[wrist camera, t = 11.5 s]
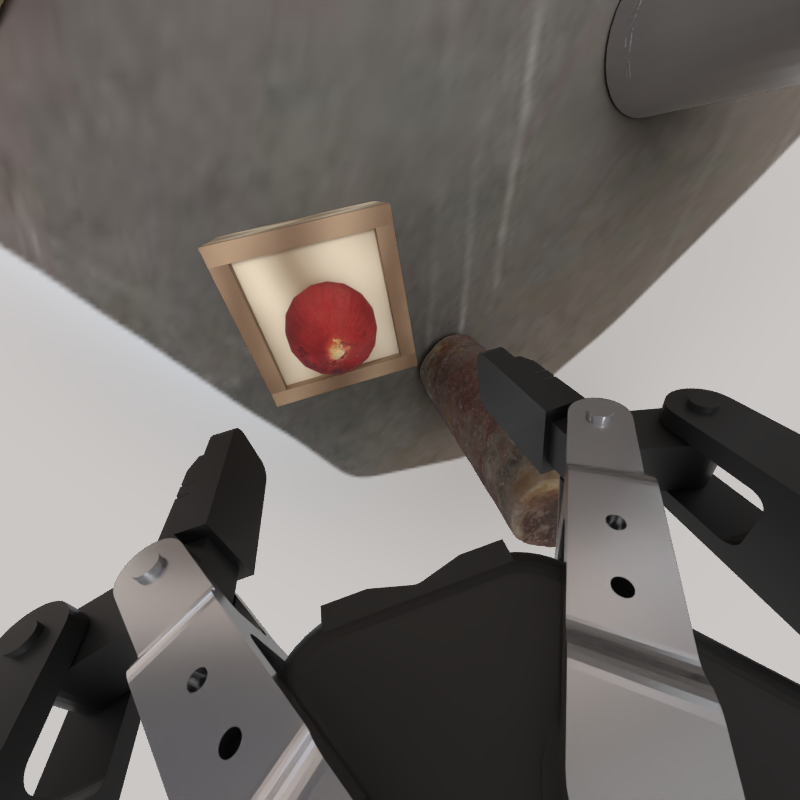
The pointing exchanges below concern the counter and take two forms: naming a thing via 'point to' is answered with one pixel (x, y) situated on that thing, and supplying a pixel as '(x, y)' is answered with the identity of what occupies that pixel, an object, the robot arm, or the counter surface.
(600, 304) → the counter surface
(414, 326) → the counter surface
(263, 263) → the pedestal
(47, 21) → the counter surface
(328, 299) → the pomegranate
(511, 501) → the rusty metal cylinder
